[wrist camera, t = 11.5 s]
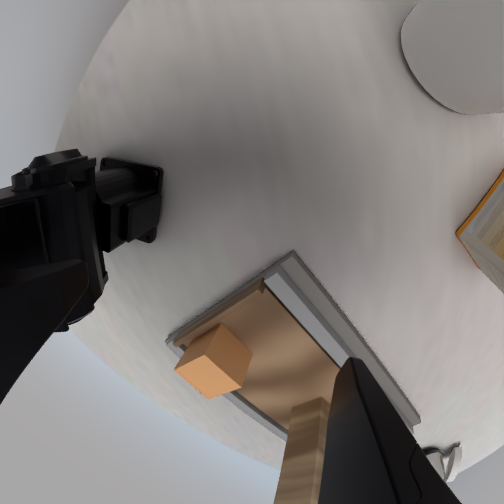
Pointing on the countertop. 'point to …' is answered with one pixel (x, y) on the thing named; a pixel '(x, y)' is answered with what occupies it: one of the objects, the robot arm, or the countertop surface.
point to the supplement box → (487, 234)
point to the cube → (215, 362)
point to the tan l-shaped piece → (281, 381)
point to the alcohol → (458, 52)
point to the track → (320, 327)
